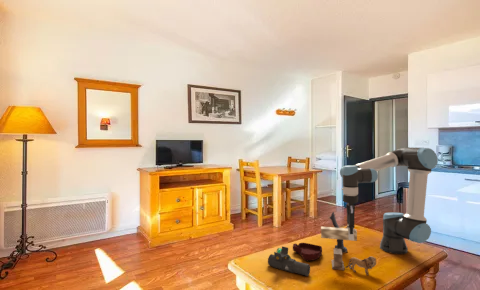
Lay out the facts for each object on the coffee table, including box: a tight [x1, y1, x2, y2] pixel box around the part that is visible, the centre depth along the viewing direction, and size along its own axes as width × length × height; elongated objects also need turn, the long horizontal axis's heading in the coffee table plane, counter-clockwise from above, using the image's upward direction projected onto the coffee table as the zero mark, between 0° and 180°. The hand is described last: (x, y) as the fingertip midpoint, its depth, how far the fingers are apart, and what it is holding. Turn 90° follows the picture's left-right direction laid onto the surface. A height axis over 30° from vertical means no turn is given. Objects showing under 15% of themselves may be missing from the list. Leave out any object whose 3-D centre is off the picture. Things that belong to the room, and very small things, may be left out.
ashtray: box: [292, 242, 323, 262], centre depth 160 cm, size 18×16×5 cm
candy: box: [275, 247, 292, 259], centre depth 158 cm, size 12×3×4 cm
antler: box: [329, 211, 348, 254], centre depth 166 cm, size 12×8×25 cm
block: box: [320, 226, 358, 242], centre depth 146 cm, size 18×4×5 cm, turn 73°
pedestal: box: [331, 247, 345, 271], centre depth 146 cm, size 6×9×8 cm, turn 163°
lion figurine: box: [344, 256, 377, 276], centre depth 140 cm, size 15×5×9 cm, turn 62°
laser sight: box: [267, 246, 311, 277], centre depth 142 cm, size 10×22×10 cm, turn 55°
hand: (350, 237), depth 144 cm, fingers closed on block, 4 cm apart
